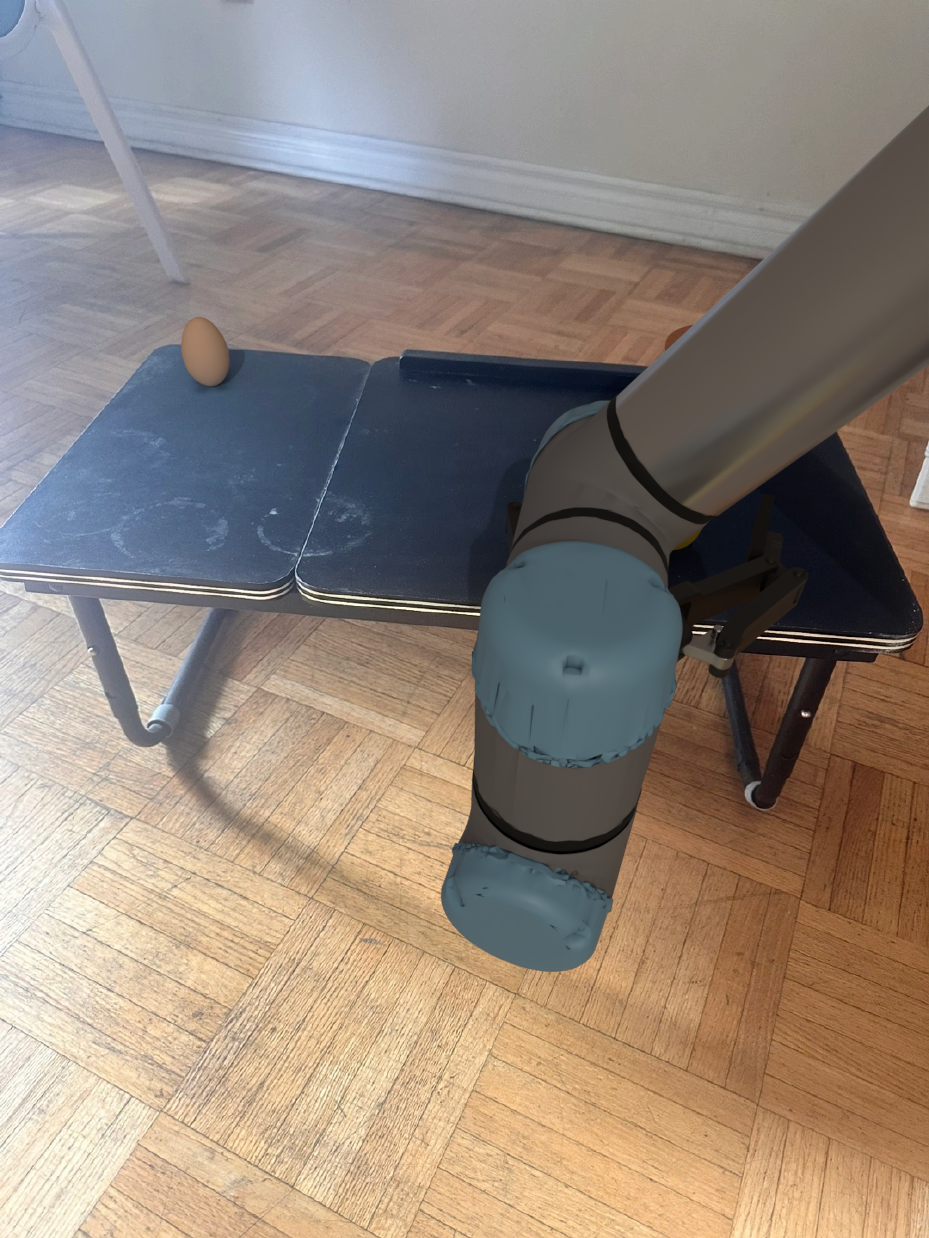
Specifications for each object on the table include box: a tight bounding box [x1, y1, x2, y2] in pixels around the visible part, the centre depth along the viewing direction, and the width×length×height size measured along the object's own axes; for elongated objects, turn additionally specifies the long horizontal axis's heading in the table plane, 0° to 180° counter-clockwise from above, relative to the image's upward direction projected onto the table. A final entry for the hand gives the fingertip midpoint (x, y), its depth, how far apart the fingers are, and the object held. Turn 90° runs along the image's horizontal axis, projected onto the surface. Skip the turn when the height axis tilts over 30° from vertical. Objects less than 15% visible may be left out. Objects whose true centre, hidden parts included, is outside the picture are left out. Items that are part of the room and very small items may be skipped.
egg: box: [180, 316, 231, 387], centre depth 96 cm, size 5×5×8 cm
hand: (670, 489), depth 61 cm, fingers open, 13 cm apart
